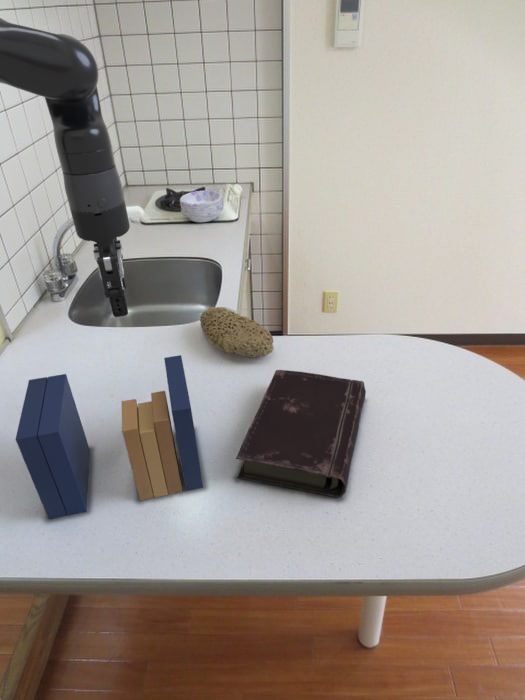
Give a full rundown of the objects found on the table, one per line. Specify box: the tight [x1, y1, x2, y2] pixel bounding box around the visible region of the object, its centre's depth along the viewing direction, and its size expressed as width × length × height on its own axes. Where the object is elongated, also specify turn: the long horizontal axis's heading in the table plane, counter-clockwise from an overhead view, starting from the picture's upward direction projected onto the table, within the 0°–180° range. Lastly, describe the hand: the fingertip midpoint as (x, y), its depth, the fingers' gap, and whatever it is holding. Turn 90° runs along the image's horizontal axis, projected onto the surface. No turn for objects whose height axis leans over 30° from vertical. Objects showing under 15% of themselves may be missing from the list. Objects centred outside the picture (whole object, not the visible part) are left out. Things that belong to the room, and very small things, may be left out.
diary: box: [235, 369, 367, 499], centre depth 93 cm, size 19×25×5 cm
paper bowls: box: [179, 189, 225, 224], centre depth 187 cm, size 15×15×8 cm
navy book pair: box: [15, 373, 91, 520], centre depth 83 cm, size 6×14×17 cm, turn 13°
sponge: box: [199, 306, 274, 358], centre depth 118 cm, size 13×8×20 cm
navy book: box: [163, 354, 204, 492], centre depth 86 cm, size 3×14×17 cm, turn 13°
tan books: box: [121, 390, 183, 501], centre depth 83 cm, size 7×7×16 cm
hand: (120, 302), depth 82 cm, fingers open, 8 cm apart
